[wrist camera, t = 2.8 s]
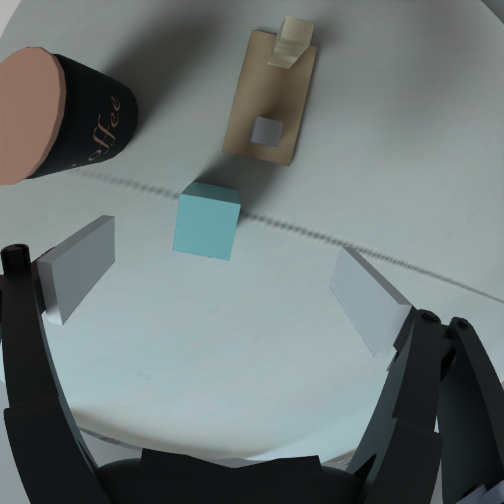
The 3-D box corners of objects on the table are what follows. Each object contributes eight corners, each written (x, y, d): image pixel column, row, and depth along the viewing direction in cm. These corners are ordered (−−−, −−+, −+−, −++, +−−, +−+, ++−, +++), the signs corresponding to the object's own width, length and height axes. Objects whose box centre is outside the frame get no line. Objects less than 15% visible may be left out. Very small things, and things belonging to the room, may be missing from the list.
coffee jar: (100, 178, 31) (8, 215, 14) (57, 126, 27) (-40, 132, 11) (158, 118, 29) (87, 97, 12) (109, 66, 25) (26, 24, 9)
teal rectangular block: (185, 225, 34) (172, 250, 26) (192, 181, 32) (180, 193, 24) (229, 233, 35) (229, 260, 27) (238, 189, 33) (240, 204, 25)
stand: (222, 151, 31) (218, 154, 22) (251, 33, 26) (260, -5, 16) (287, 165, 32) (311, 174, 23) (314, 49, 27) (344, 20, 17)
